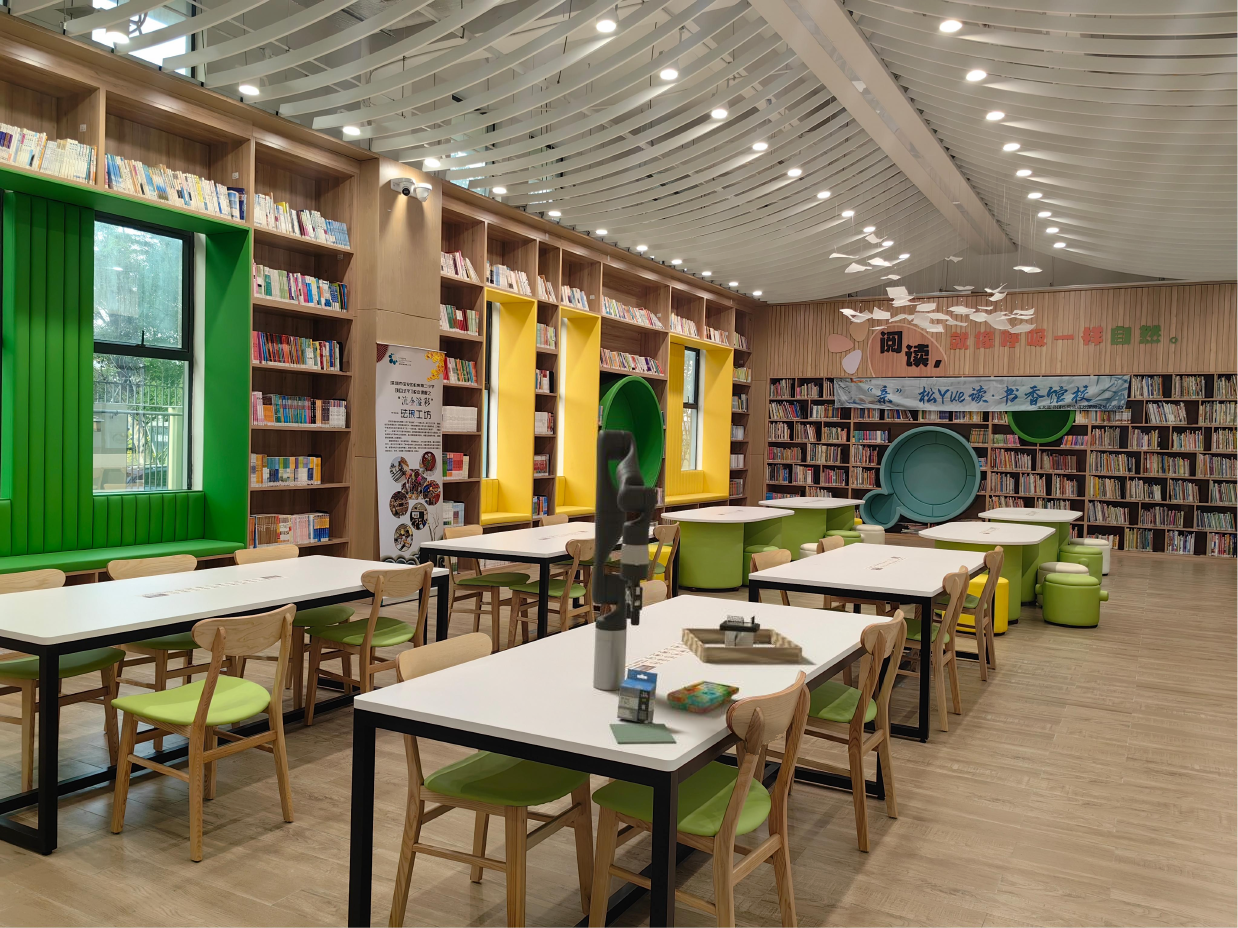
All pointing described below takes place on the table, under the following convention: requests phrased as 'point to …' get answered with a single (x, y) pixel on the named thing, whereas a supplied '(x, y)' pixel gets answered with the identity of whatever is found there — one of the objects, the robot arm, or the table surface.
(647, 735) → the mat
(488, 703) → the table surface
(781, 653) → the holder frame
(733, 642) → the black-topped pedestal
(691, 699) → the puzzle game
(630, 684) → the label tape cartridge
